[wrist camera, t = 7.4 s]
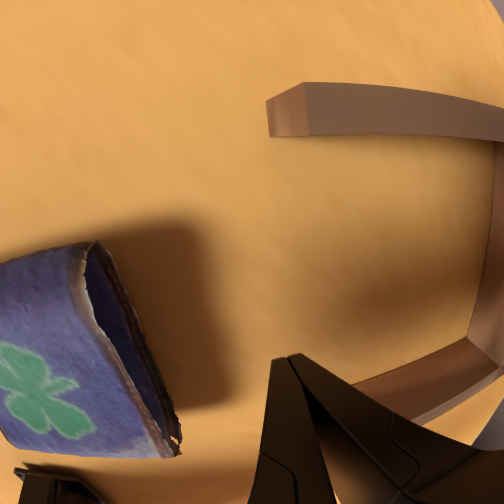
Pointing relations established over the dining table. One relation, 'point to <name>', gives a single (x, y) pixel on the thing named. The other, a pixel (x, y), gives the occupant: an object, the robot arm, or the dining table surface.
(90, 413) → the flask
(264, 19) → the dining table surface
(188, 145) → the dining table surface
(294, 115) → the walnut u-shaped fence
